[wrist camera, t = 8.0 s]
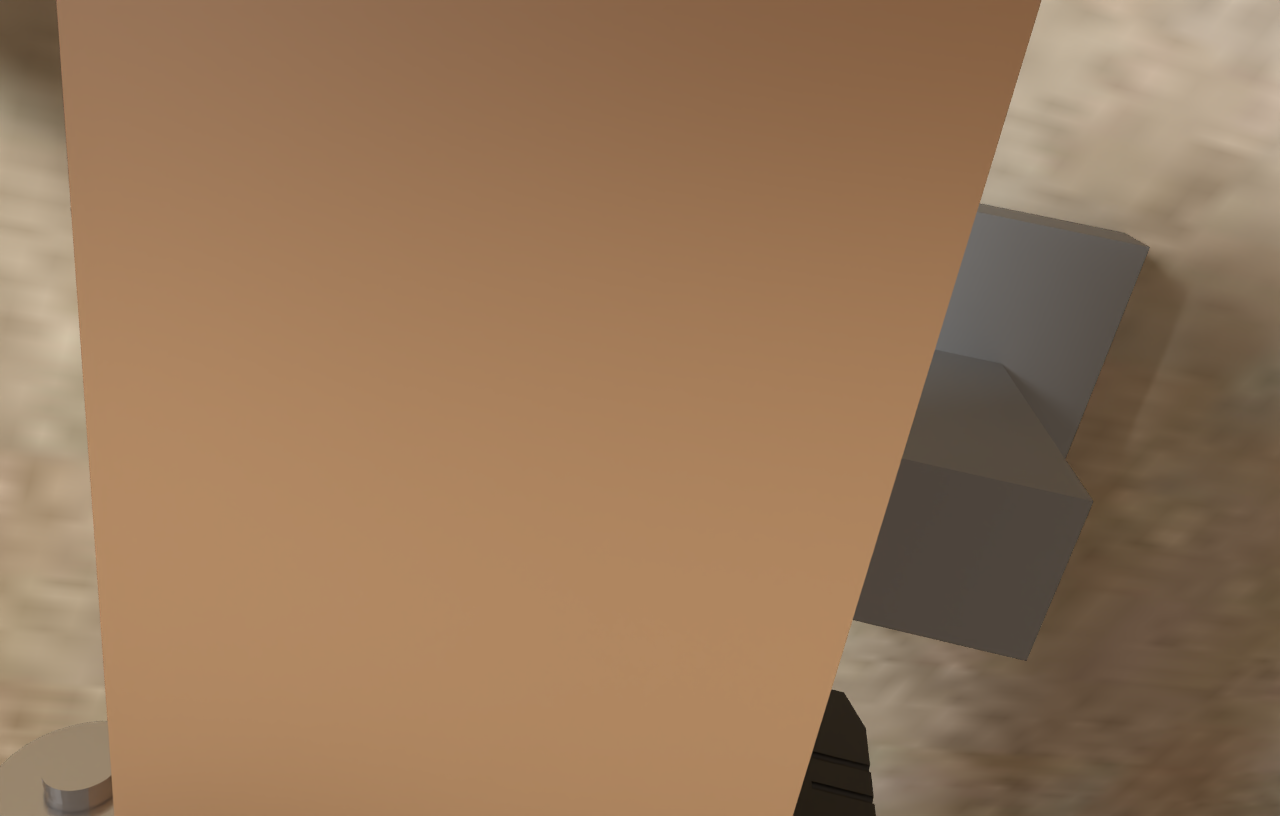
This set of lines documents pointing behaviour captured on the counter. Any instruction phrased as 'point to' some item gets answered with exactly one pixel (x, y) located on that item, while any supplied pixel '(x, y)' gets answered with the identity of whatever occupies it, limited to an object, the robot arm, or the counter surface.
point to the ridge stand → (1000, 435)
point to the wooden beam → (504, 382)
